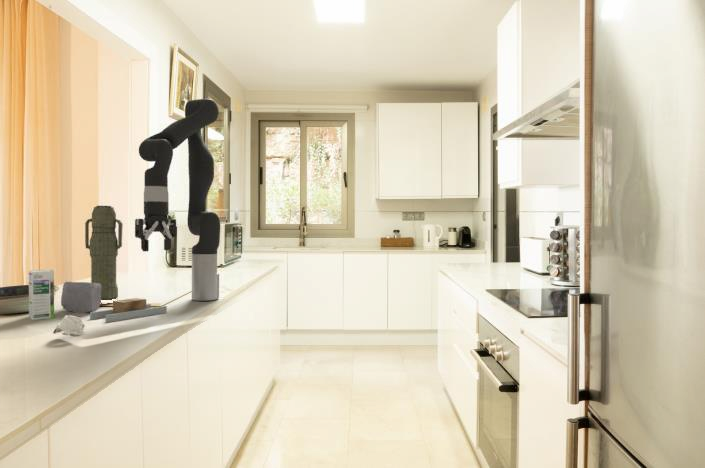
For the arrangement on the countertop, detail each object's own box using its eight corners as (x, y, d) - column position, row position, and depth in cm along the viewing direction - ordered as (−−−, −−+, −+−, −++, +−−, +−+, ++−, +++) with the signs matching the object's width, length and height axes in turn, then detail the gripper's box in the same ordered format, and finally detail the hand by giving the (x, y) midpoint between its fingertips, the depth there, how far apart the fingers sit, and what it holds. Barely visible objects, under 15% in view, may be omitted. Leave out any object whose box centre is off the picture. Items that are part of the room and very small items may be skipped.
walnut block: (135, 313, 156) (135, 298, 156) (146, 315, 153) (146, 299, 153) (112, 317, 149) (112, 301, 149) (123, 319, 146) (123, 302, 146)
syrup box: (31, 320, 142) (31, 271, 142) (28, 318, 146) (28, 269, 146) (54, 318, 146) (54, 270, 145) (50, 315, 150) (50, 268, 150)
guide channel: (148, 309, 162) (148, 303, 162) (166, 312, 157) (166, 306, 157) (89, 319, 145) (89, 312, 145) (107, 322, 140) (107, 315, 140)
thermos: (120, 306, 170) (120, 205, 169) (82, 307, 166) (82, 205, 166) (124, 302, 178) (124, 206, 178) (88, 303, 174) (88, 206, 174)
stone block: (103, 311, 158) (103, 281, 158) (94, 314, 153) (94, 282, 153) (69, 311, 159) (69, 280, 159) (58, 313, 154) (58, 282, 154)
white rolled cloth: (65, 331, 129) (66, 312, 129) (92, 331, 129) (92, 312, 129) (48, 337, 121) (49, 318, 121) (76, 337, 121) (77, 318, 121)
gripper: (167, 202, 167) (167, 249, 167) (129, 200, 155) (129, 251, 155) (181, 201, 163) (182, 250, 163) (143, 199, 151) (144, 252, 151)
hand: (156, 250), depth 159 cm, fingers open, 7 cm apart
